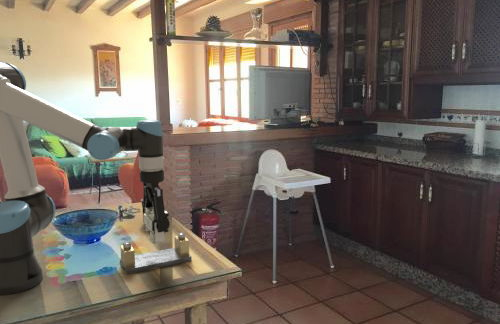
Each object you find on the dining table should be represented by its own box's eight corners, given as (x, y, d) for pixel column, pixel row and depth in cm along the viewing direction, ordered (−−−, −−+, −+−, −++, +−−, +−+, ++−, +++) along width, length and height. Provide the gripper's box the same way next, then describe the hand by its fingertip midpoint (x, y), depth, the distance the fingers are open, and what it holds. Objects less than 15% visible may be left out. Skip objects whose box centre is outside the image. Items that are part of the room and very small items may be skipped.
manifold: (127, 274, 132) (125, 249, 131) (120, 262, 141) (118, 239, 140) (191, 260, 142) (190, 237, 141) (181, 250, 151) (180, 228, 149)
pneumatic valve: (156, 234, 146) (157, 201, 144) (169, 247, 137) (170, 211, 134) (140, 237, 144) (140, 202, 141) (153, 250, 134) (153, 213, 132)
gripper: (174, 174, 128) (177, 245, 132) (153, 162, 148) (155, 223, 152) (149, 177, 124) (153, 249, 128) (131, 164, 144) (134, 227, 148)
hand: (154, 235), depth 140 cm, fingers closed on pneumatic valve, 11 cm apart
